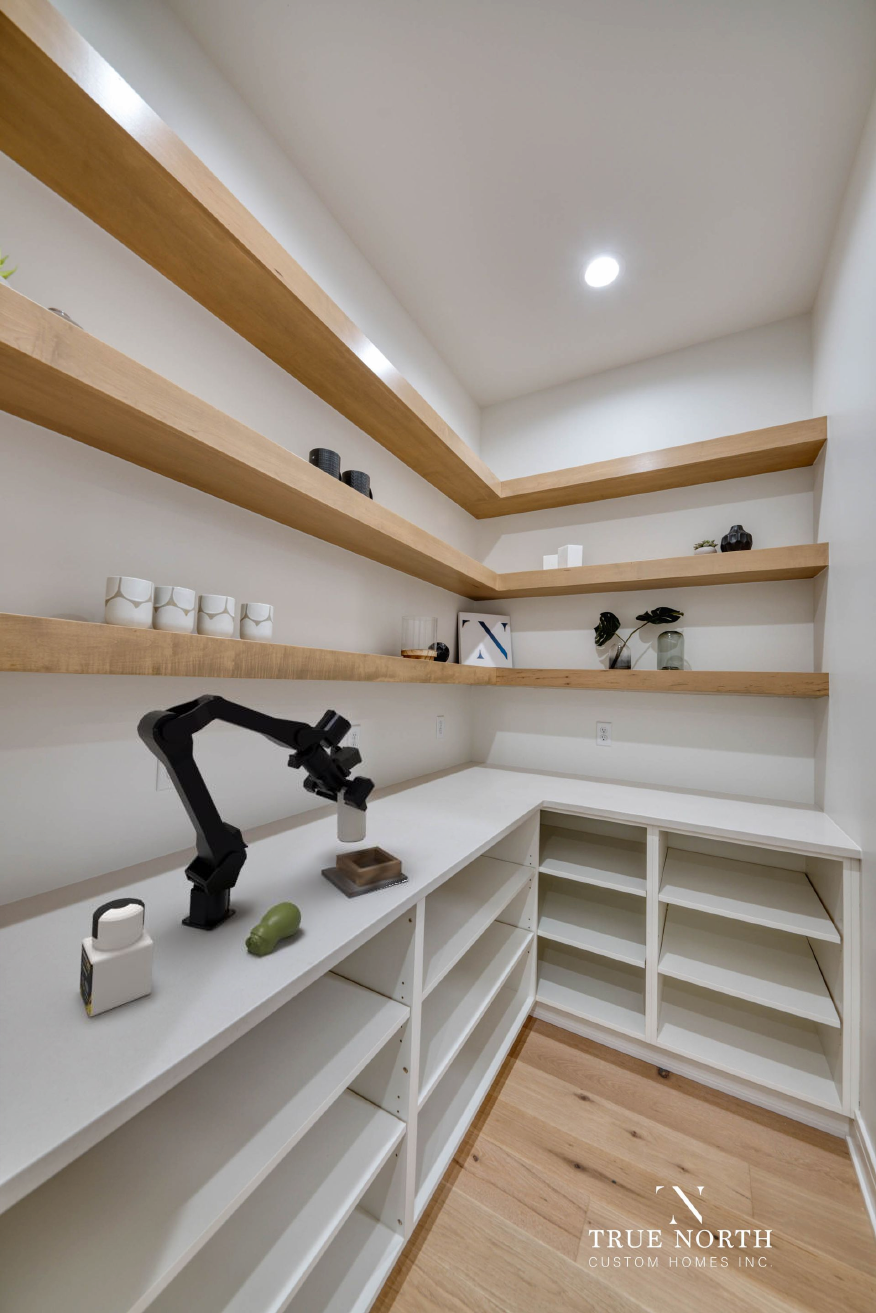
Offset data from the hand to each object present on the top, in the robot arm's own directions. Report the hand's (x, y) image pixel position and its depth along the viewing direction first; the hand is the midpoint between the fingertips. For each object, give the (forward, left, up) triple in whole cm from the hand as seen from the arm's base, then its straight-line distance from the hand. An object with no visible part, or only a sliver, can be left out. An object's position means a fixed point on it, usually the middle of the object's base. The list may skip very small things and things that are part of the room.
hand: (356, 806), depth 113 cm
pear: (-33, -1, -14) cm, 36 cm away
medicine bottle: (-51, +11, -13) cm, 54 cm away
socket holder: (-5, -6, -13) cm, 15 cm away
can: (-1, 0, -7) cm, 7 cm away
